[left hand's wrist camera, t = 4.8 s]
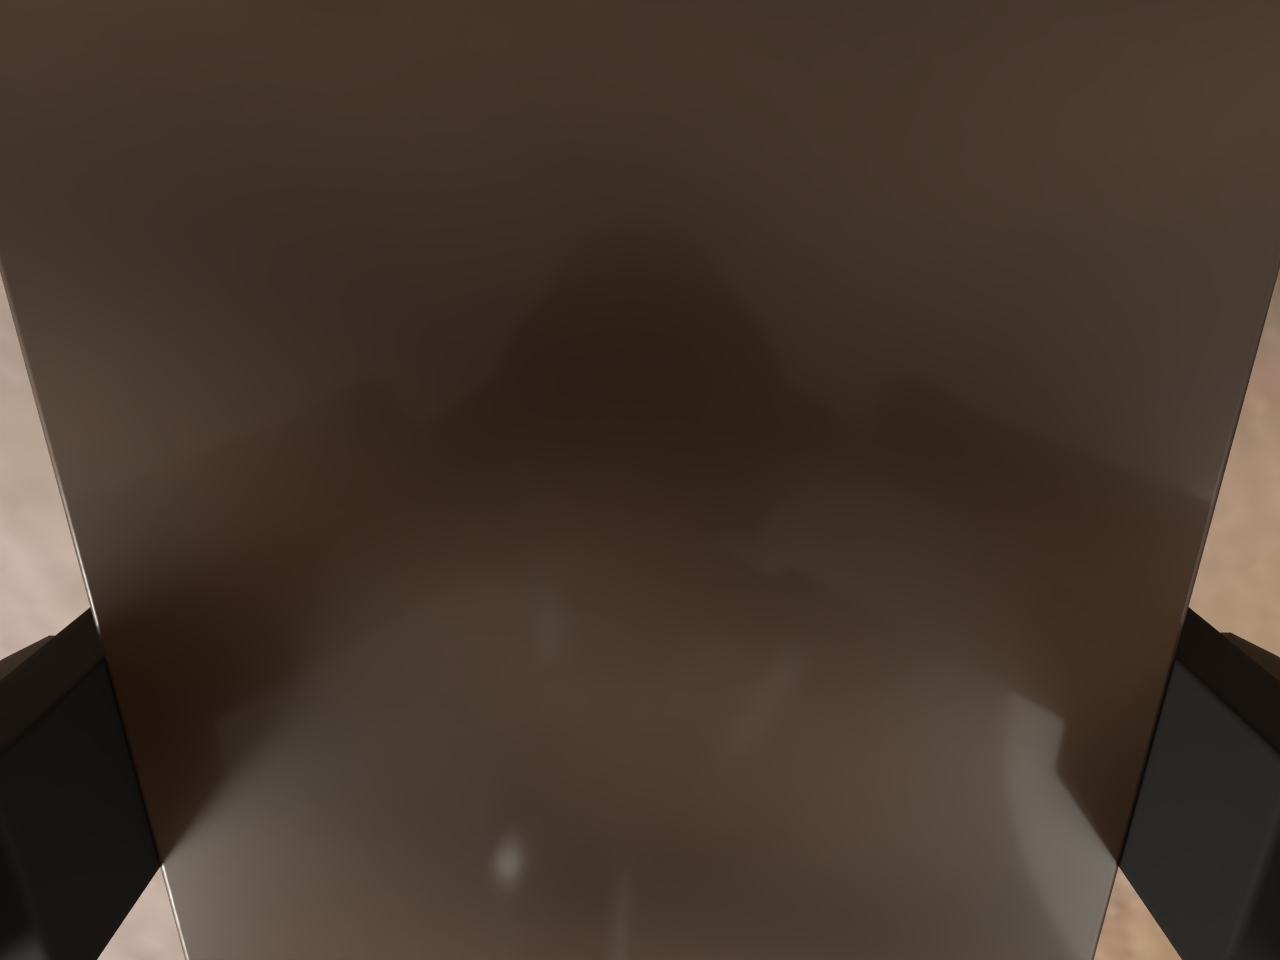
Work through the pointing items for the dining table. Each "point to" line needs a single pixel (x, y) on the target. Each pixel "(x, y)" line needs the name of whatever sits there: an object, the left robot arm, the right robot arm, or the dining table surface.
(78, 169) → the cabinet
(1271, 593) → the dining table surface
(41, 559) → the dining table surface
